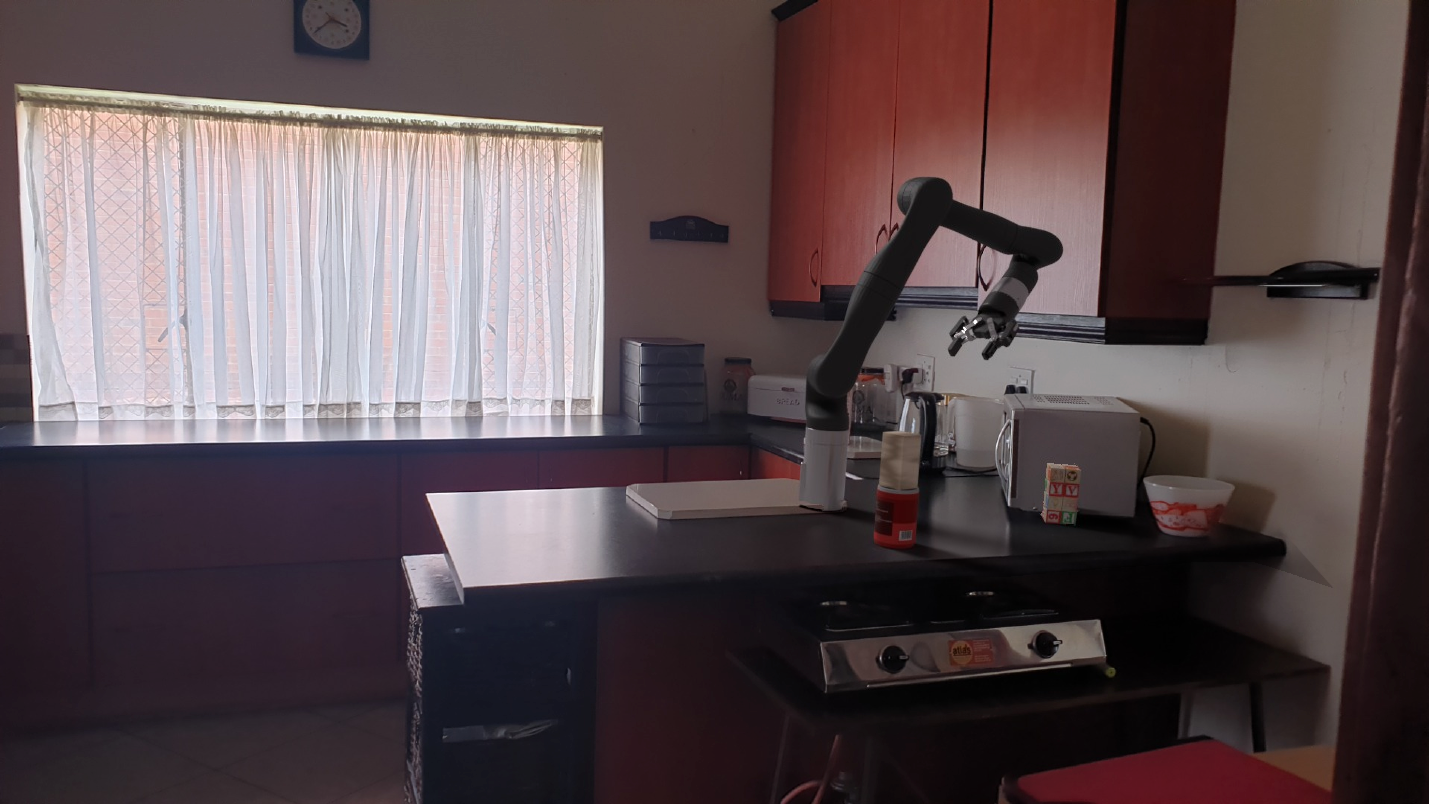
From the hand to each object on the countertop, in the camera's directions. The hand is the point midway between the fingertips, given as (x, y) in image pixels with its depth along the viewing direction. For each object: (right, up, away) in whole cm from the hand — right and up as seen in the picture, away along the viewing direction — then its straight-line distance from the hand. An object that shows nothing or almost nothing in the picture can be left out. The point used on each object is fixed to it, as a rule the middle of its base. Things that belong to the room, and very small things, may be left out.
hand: (967, 355), depth 209 cm
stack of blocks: (+23, -35, +13) cm, 44 cm away
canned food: (-19, -37, -22) cm, 47 cm away
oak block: (-19, -26, -24) cm, 40 cm away
